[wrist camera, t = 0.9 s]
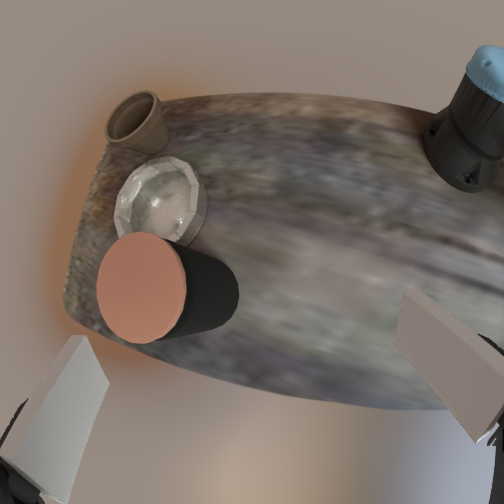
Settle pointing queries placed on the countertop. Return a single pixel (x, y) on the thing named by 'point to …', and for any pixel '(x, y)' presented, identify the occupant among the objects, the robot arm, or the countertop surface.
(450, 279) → the countertop surface
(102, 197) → the countertop surface
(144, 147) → the flower pot
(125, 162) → the countertop surface
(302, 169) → the countertop surface
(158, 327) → the coffee jar
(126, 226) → the cup bracket
